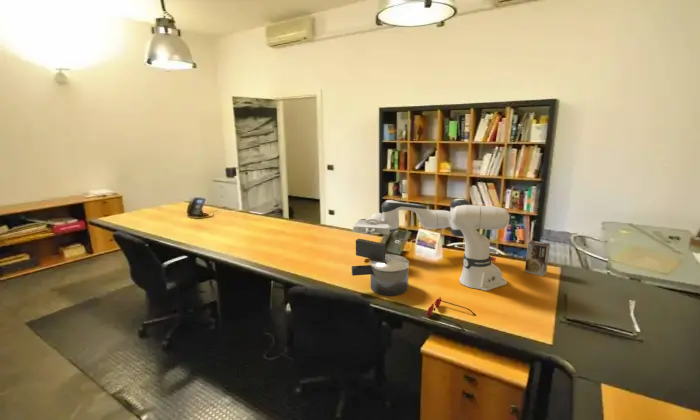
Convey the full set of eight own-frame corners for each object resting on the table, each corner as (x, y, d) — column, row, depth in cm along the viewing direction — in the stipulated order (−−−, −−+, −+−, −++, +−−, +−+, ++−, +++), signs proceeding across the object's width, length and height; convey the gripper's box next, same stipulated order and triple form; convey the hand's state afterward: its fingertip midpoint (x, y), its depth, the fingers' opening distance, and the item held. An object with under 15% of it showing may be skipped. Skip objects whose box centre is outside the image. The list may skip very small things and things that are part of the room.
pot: (402, 277, 177) (402, 256, 174) (412, 294, 160) (413, 270, 157) (350, 281, 174) (349, 259, 171) (354, 298, 157) (354, 274, 154)
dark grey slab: (415, 261, 167) (415, 243, 165) (398, 275, 152) (398, 256, 150) (367, 250, 182) (366, 234, 179) (347, 262, 167) (346, 244, 164)
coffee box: (546, 272, 180) (550, 243, 176) (543, 276, 175) (547, 246, 171) (528, 268, 186) (531, 239, 182) (524, 271, 181) (527, 242, 177)
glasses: (438, 304, 152) (439, 294, 150) (476, 316, 142) (477, 305, 141) (425, 319, 141) (425, 308, 140) (465, 332, 131) (466, 321, 130)
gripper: (391, 231, 194) (388, 239, 181) (356, 229, 199) (350, 237, 186) (391, 221, 193) (388, 228, 180) (356, 219, 197) (350, 226, 184)
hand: (368, 232), depth 183 cm, fingers closed
